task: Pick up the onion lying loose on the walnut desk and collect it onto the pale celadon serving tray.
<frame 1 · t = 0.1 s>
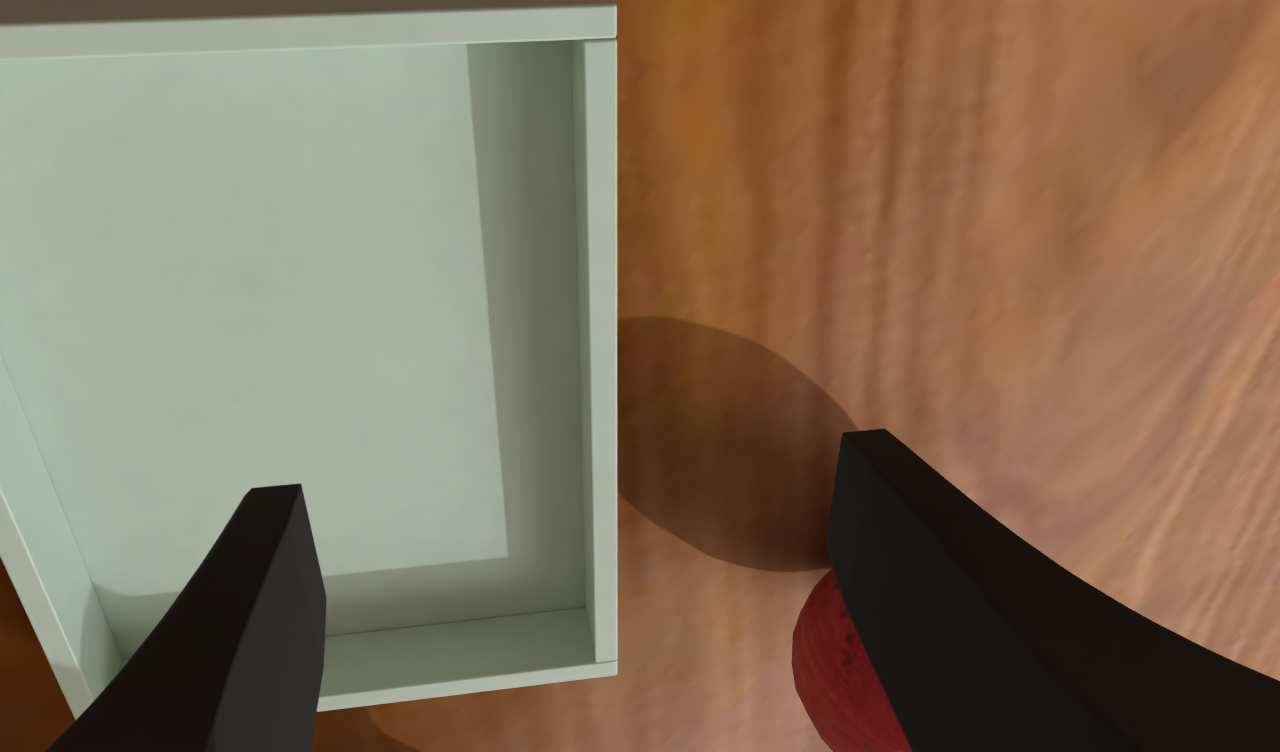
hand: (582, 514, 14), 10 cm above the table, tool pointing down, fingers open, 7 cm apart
tray: (313, 370, 24), on the table
onion: (855, 554, 30), on the table
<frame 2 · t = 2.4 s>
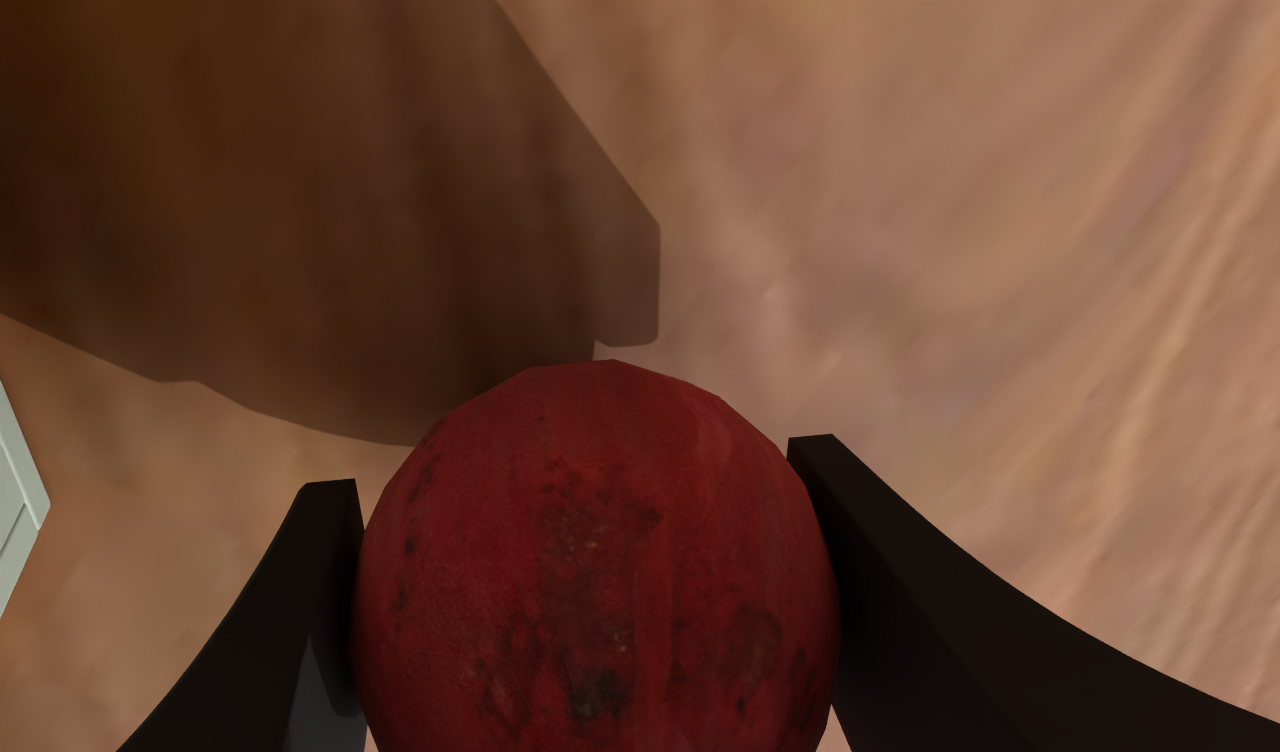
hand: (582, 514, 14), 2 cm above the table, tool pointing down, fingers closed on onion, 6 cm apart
onion: (563, 417, 16), on the table, touching gripper
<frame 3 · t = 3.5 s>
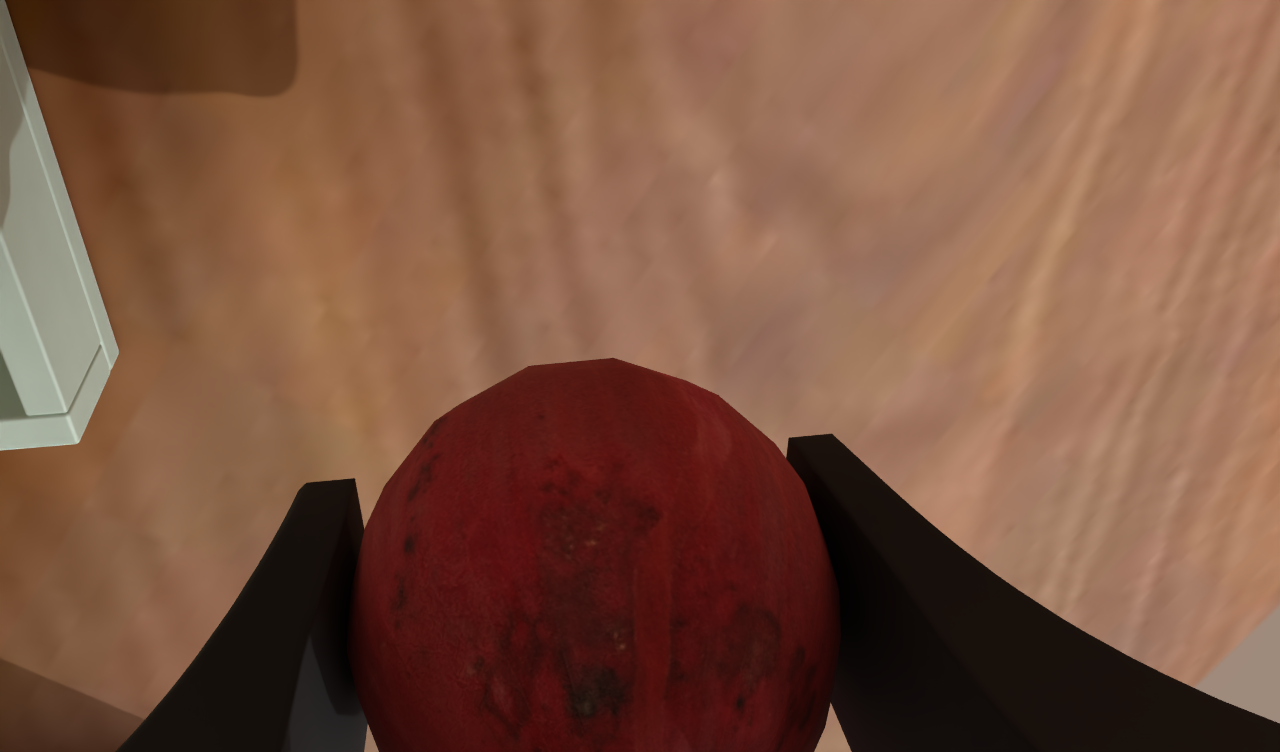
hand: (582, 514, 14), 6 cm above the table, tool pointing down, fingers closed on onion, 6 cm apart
onion: (563, 416, 16), point 4 cm above the table, touching gripper
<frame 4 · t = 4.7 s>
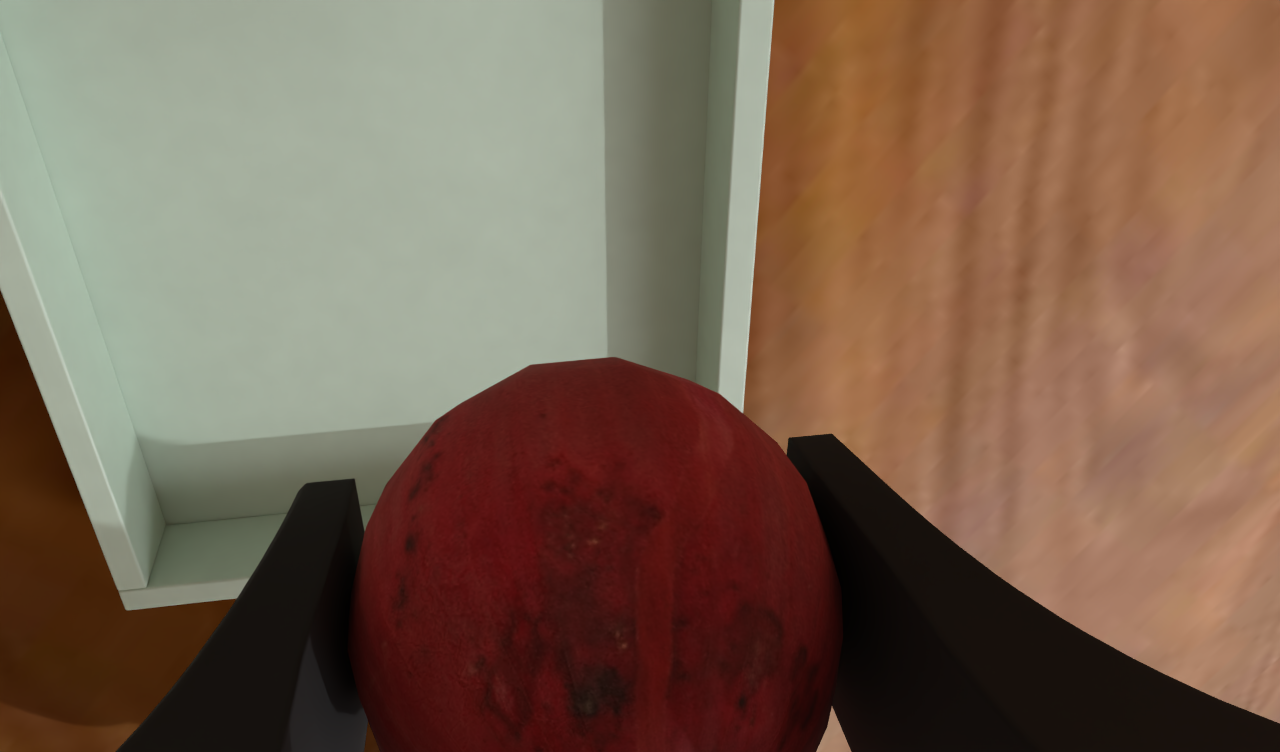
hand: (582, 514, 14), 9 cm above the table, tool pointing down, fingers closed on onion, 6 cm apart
tray: (395, 162, 20), on the table
onion: (564, 415, 16), point 7 cm above the table, touching gripper
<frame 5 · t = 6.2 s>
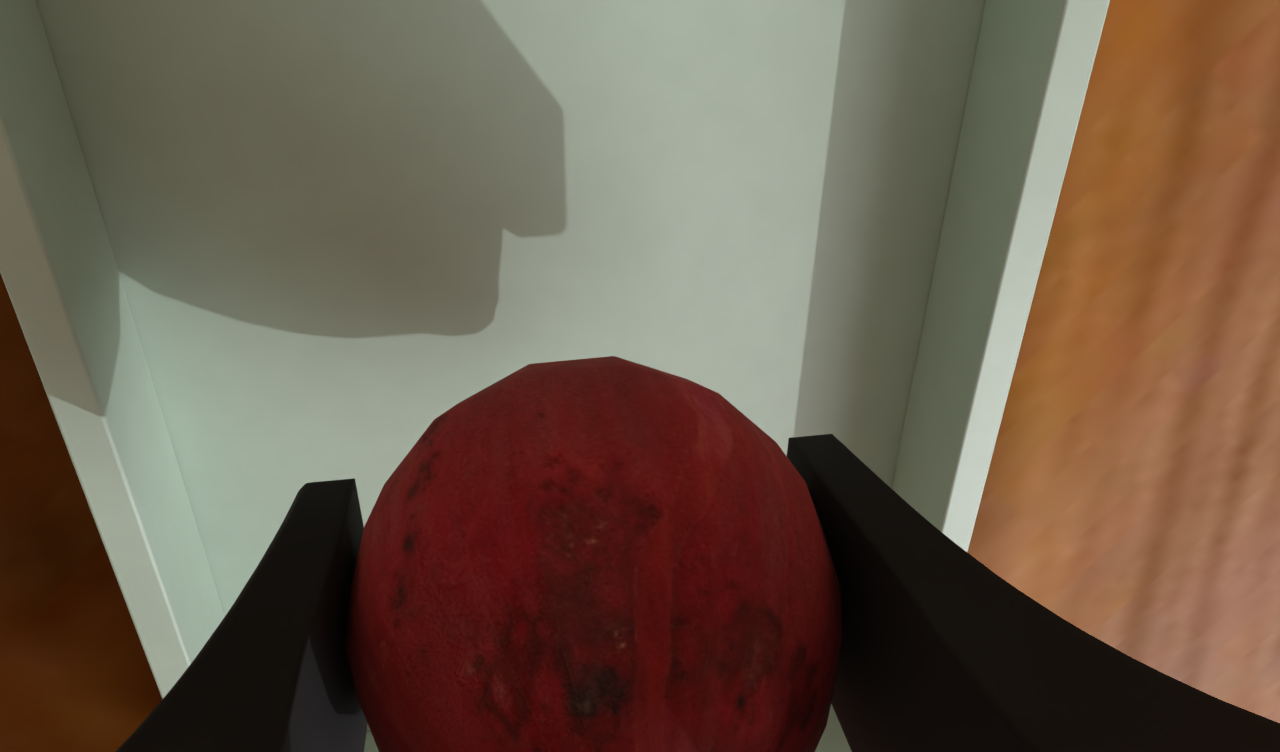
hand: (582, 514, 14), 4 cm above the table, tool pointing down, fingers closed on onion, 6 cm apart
tray: (555, 358, 17), on the table
onion: (563, 414, 16), point 2 cm above the table, touching gripper
when the fingers open (3 cm above the table, at t = 7.2 s): onion stays where it is, resting on tray.
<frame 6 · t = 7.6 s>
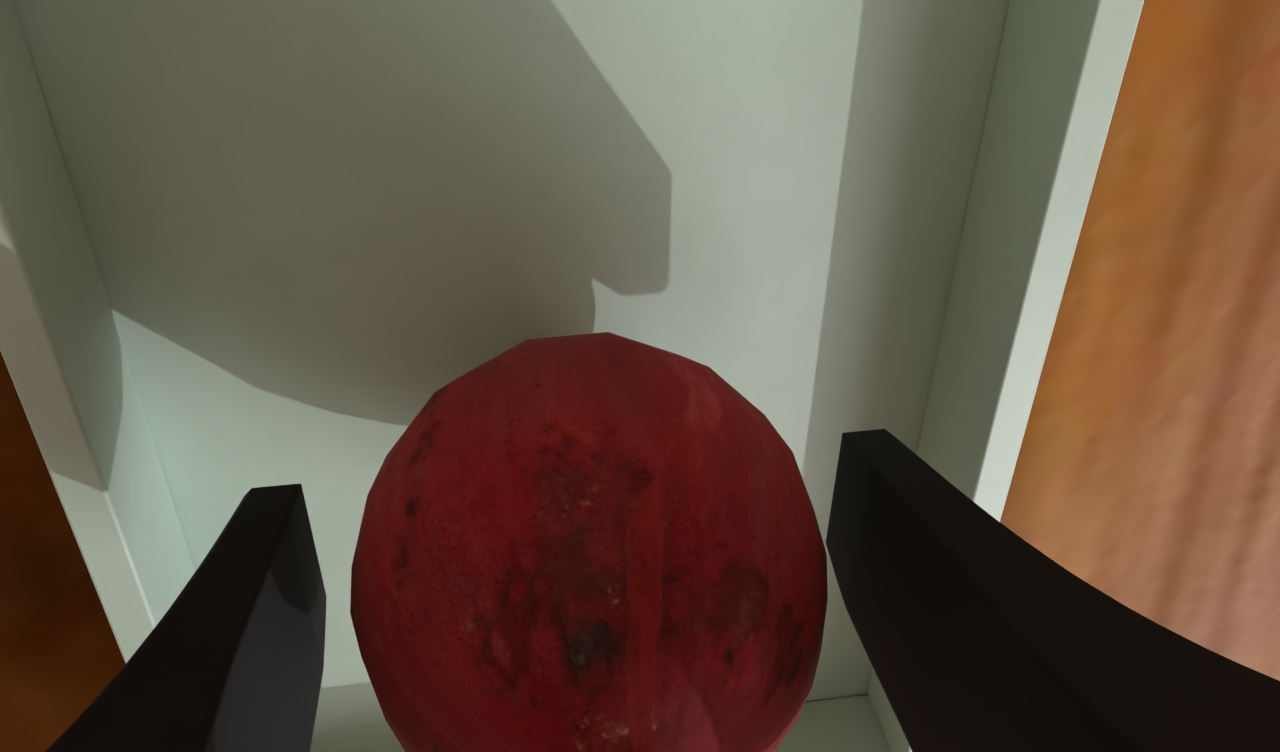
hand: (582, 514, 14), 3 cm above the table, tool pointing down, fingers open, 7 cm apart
tray: (559, 381, 17), on the table
onion: (559, 393, 16), resting on tray
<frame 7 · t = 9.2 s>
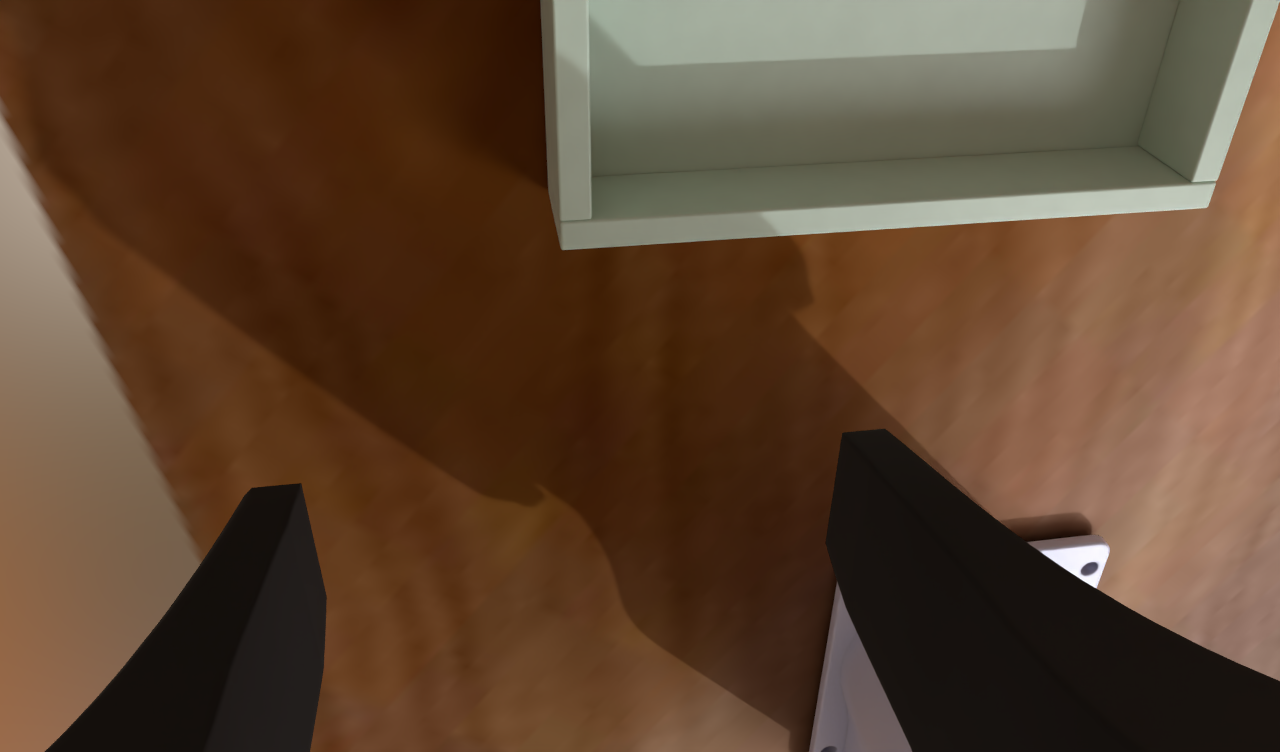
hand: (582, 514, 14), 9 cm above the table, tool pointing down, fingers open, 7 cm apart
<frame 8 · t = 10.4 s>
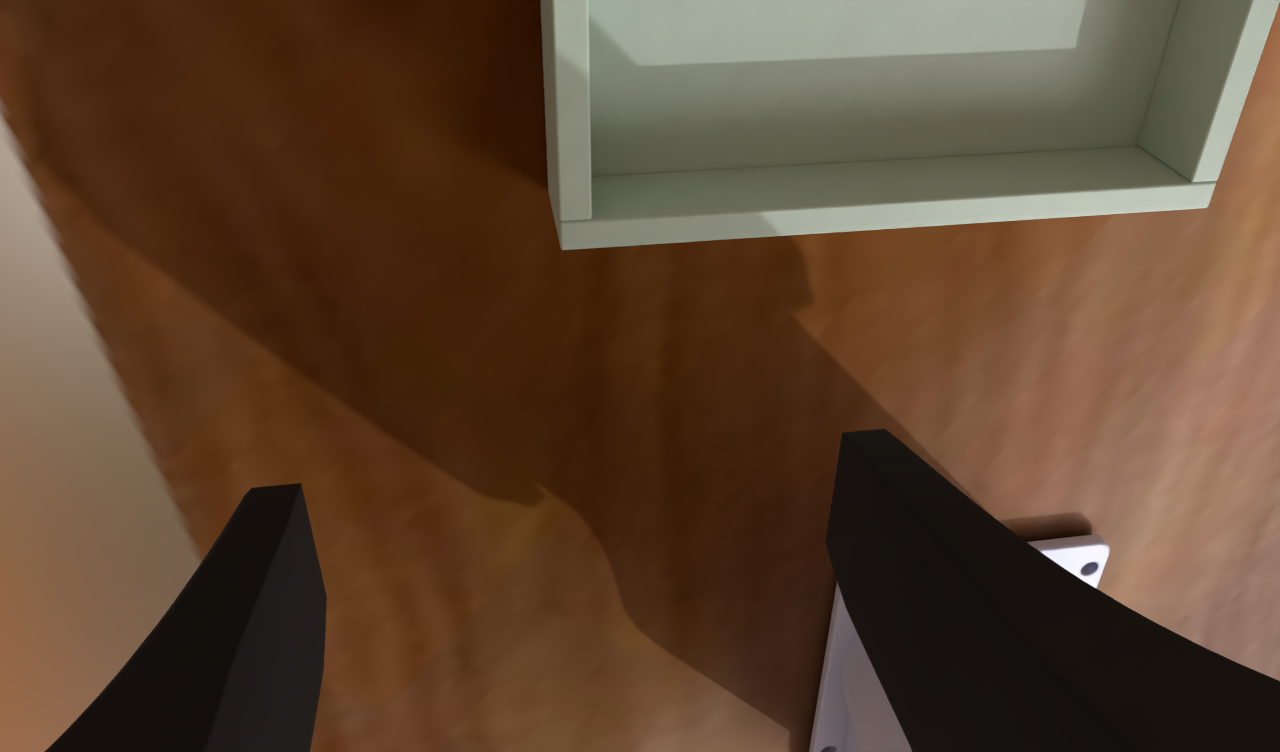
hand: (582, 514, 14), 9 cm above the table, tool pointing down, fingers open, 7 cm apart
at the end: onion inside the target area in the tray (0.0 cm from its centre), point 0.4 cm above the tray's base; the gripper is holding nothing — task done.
